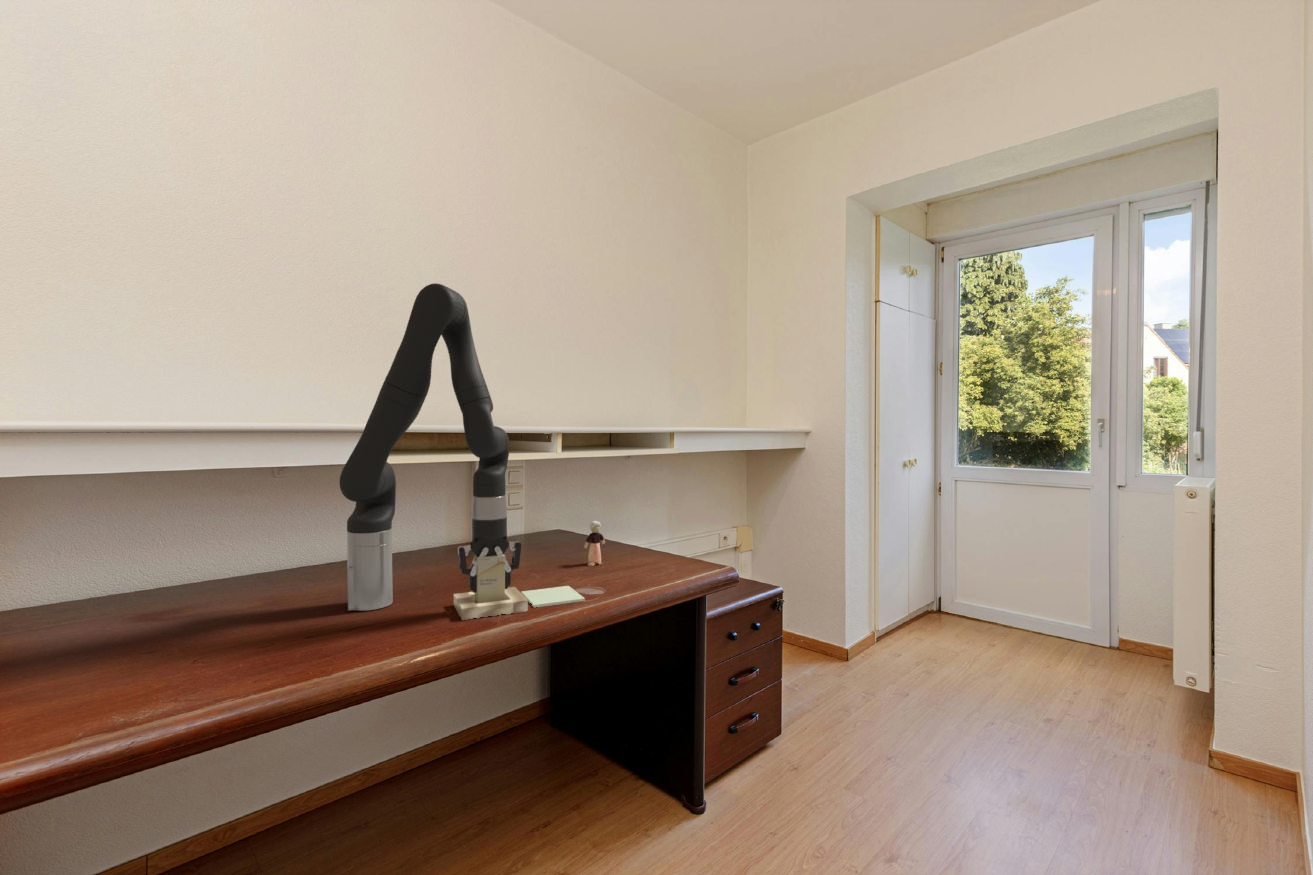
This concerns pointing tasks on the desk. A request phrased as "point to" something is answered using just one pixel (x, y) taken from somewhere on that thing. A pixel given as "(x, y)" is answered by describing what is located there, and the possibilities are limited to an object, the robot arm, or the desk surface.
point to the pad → (552, 596)
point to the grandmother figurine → (594, 544)
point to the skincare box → (490, 579)
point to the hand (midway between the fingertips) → (490, 589)
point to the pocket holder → (490, 605)
